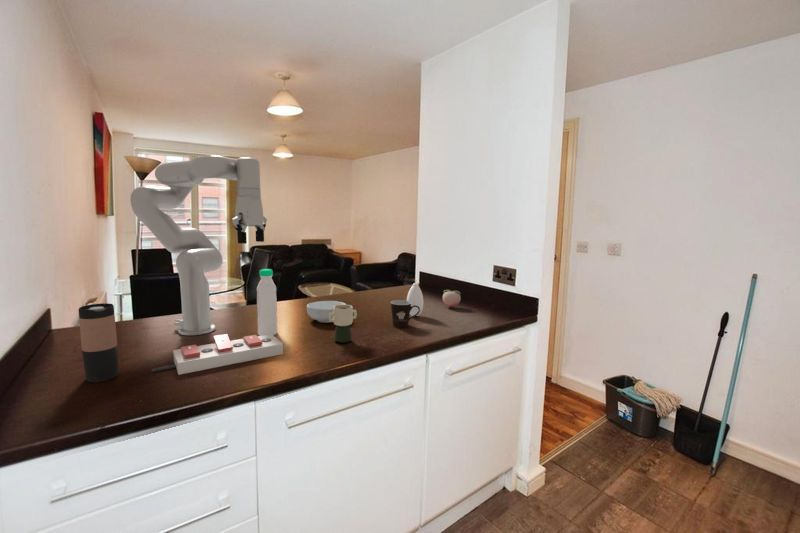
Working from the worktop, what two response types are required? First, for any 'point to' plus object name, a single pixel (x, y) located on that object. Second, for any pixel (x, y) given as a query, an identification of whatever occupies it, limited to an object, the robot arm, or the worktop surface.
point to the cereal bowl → (322, 310)
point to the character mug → (342, 321)
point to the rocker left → (190, 351)
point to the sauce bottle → (415, 299)
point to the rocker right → (252, 340)
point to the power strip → (224, 355)
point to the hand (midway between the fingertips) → (251, 242)
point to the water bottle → (266, 304)
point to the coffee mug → (401, 313)
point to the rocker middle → (223, 343)
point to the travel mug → (99, 341)
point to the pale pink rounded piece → (451, 298)
